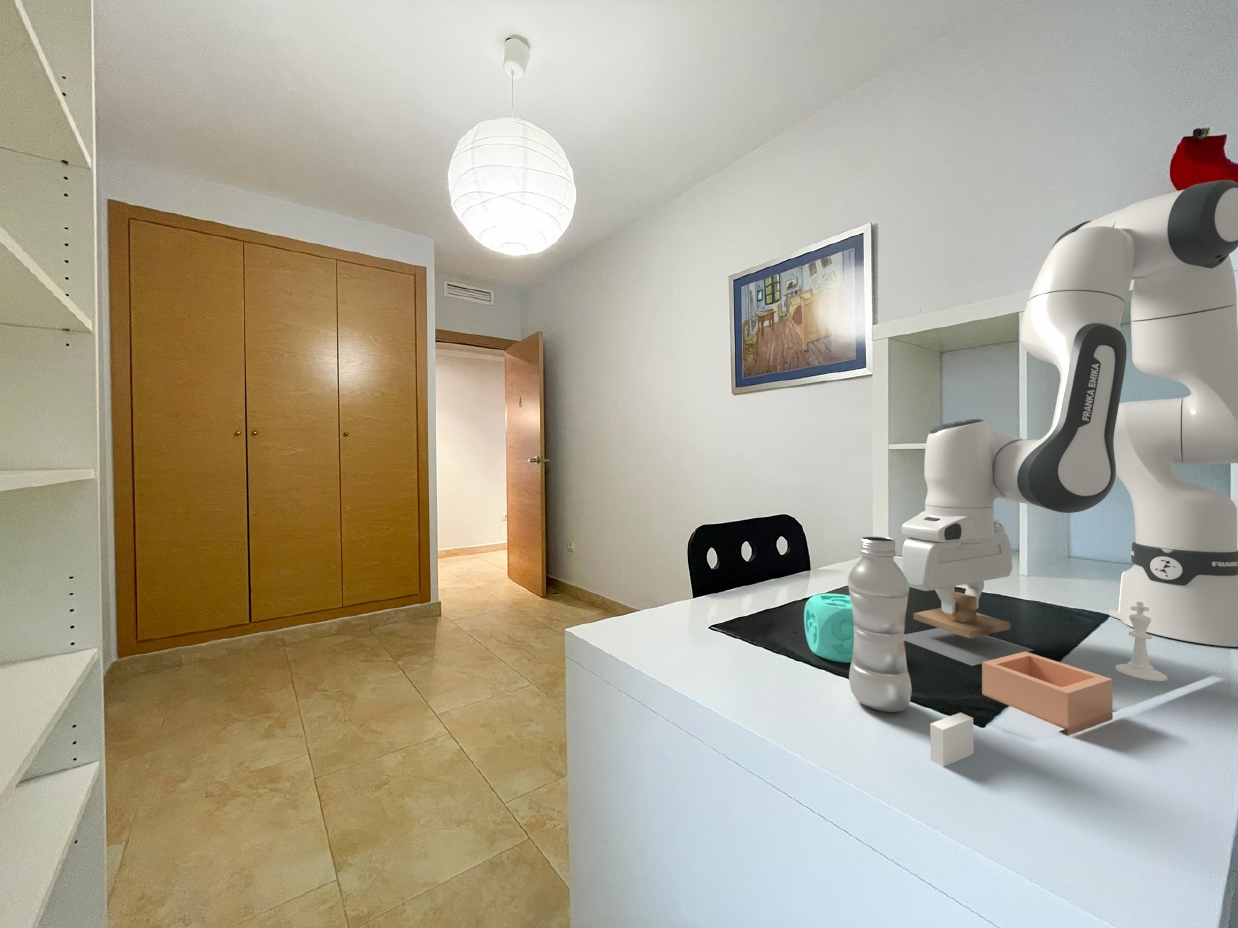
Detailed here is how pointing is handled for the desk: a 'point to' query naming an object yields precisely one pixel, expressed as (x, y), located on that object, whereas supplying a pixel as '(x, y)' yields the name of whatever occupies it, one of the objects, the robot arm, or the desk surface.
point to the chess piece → (1140, 649)
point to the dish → (1049, 690)
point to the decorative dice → (830, 626)
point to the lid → (963, 619)
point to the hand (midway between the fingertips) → (960, 610)
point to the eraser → (951, 739)
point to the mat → (964, 646)
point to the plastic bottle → (879, 628)
